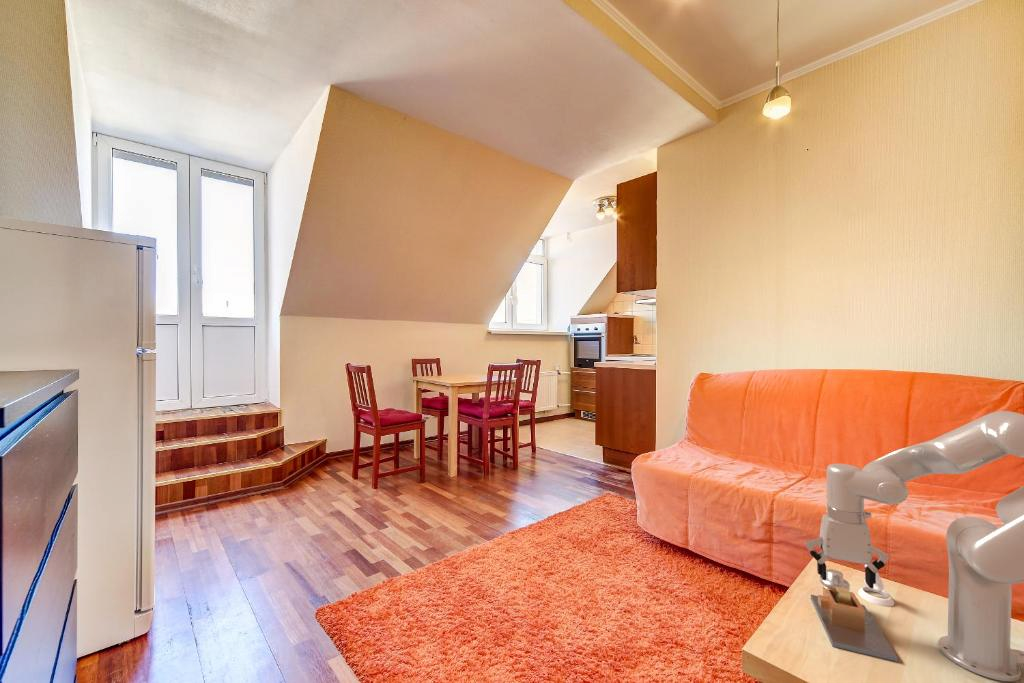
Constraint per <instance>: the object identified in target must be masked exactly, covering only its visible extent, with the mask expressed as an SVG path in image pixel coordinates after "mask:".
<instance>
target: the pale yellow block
mask: <svg viewBox="0 0 1024 683" xmlns="http://www.w3.org/2000/svg"><path fill="white" fill-rule="evenodd" d="M850 592H851V591H850V590H848V589H846V588H842V587H838V586H836V603H839V604H843V605H848V606H851V595H850Z"/></svg>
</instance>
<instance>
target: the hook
mask: <svg viewBox="0 0 1024 683" xmlns="http://www.w3.org/2000/svg"><path fill="white" fill-rule="evenodd" d="M866 566H867V565H866V564H864V568H865V567H866ZM878 572H879V571H878ZM878 572H877V573H876V584H873V586H874V588H870V587H869V586H868V585H867V583H866V582H865V578H864V579H863V582H864V585H862V587H861V588H859V590H858V592H857V593H858V595H859V597H861V598H862V599H863V600H865V601H867V602H869V603H871V604H874V605H876V606H881V607H893V606H894V605H895V601H894V599H893V596H892V595H891V594H890V593H888V592H887V591H886V590H884V589H885V586H884V583H883V580H882V578H881V576H880V574H879V573H878ZM866 591H868V592H873V593H876V594H878V595H879V594H880V595H882V596H884V597H886V598H881V597H877V596H874V595H871V594H869V593H868V592H866Z"/></svg>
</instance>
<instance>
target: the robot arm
mask: <svg viewBox="0 0 1024 683" xmlns="http://www.w3.org/2000/svg"><path fill="white" fill-rule="evenodd" d="M1010 455H1013V456H1015V457H1019V458H1022V459H1024V414H1022V413H1019V412H1014V411H1010V410H997V411H995V412H993V411H992V412H990V413H988V414H985V415H982V416H980V417H979V418H977V419H974V420H972V421H970V422H967V423H966V424H963V425H961V426H959V427H956V428H955V429H953V430H950V431H948V432H946V433H943V434H941V435H939V436H937V437H935V438H933V439H931V440H926V441H924V442H919V443H917V444H914V445H909V446H906V447H903V448H899V449H896V450H893V451H891V452H890V453H887V454H885V455H883V456H880V457H878V458H877V459H873V461H870V462H868V463H867V464H866V465H865V466H863V468H862V469H861V468H859V467H857V466H855V465H851V464H847V463H831V464H829V465H828V466H827V468H826V513H824V514H822V518H821V522H820V530H819V537H816V538H814V539H809V540H807V541H804V545H805V546H806V549H807V551H808V552H809V554H810V555H811V557H812V558H813V559H815V561H817V562H816V563H817V565H816V566H817V567H816V568H817V570H816V571H817V574H818V575H819V576H821V577H822V579H823V580H826V572H827V565H826V562H827V561H828V560H829V559H833V560H837V561H838V560H839V561H844V562H850V563H858V564H864V565H867V566H866V567H865V566H864V574H865V575H864V576H865V577H864V579H865V582H866V583H867V585H868V586H869V587H870V588H874V586H873V584H876V573H877V572H879V570H881V569H882V568H884V567H885V566H886V565H885V564H886V563H887V562H888V560H889V559H890V556H889V555H888V553H886V552H884V551H883V550H881V549H879V548H877V547H875V546H874V545H872V539H871V532H870V529H869V525H868V522H867V521H866V519H872V514H871V512H869V511H865V500H869V501H872V502H877V503H881V504H885V505H892V506H893V505H897V504H902V503H903V502H905V501H906V500H907V498H908V497H909V490H908V489H909V488H908V486H907V484H906V483H907V482H910V481H912V480H915V479H917V478H921V477H924V476H929V475H938V474H940V475H941V474H943V475H961V474H962V475H963V474H966V473H968V472H969V473H970V472H971V471H973V470H976V469H978V468H980V467H983V466H985V465H987V464H990V463H992V462H995V461H997V460H999V459H1002V458H1004V457H1006V456H1007V457H1008V456H1010ZM995 511H996V512H995V513H996V515H997V517H998V518H999V519H1000V521H1001V522H1002V523H1003V524H1002V525H1001V526H999V527H998V526H997V525H995V524H993V523H992V522H989V521H987V520H985V519H982V518H979V517H974V516H964V517H959V518H957V519H955V520H953V521H952V522H951V523H950V524H949V526H948V527H947V529H946V534H945V535H946V536H945V537H946V538H945V539H946V548H947V556H948V558H947V559H948V596H947V597H948V598H947V599H948V600H947V601H948V605H947V609H948V610H947V635H944V636H941V637H939V638H938V640H937V646H938V649H939V650H940V651H941V653H942V654H943V655H945V657H947V658H948V659H949V660H951V661H952V662H953V663H954V664H956V665H959V666H960V667H962V668H964V669H966V670H968V671H970V672H972V673H974V674H977V675H979V676H982V677H985V678H988V679H991V680H996V681H1000V682H1017V681H1019V680H1020V679H1021V678H1022V677H1021V676H1022V672H1021V669H1020V667H1023V666H1024V650H1020V649H1016V648H1014V649H1013V648H1011V636H1012V635H1011V634H1012V633H1011V631H1012V629H1011V628H1012V627H1011V626H1012V625H1011V624H1012V598H1013V597H1012V594H1013V593H1012V590H1013V589H1012V585H1017V584H1022V583H1024V485H1021V487H1019V488H1016V489H1015V490H1014V491H1012V492H1010V493H1008V494H1006V495H1005V496H1004V497H1002V498H1001V499H1000V500H999V501H998V502H997V504H996V506H995ZM817 546H819V548H820V551H819V552H816V550H815V549H814V547H817ZM873 554H875V555H876V556H878V558H877V559H875V560H874V561H873Z"/></svg>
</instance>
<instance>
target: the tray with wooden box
mask: <svg viewBox="0 0 1024 683" xmlns="http://www.w3.org/2000/svg"><path fill="white" fill-rule="evenodd" d="M819 582H820V583H821V584H822V585H823V586H822V594H821V595H819V594H818V595H815V594H810V600H811V602H812V603H811V604H813V607H814V610H815V611H816V613H817V616H818V618H819V619H820V623H821V626H822V627H823V628H824V631H825V633H826V635H827V638H828V640H829V642H830V644H831V647H833V648H836V649H841V650H845V651H846V650H847V651H849V652H854V653H858V654H860V655H861V654H862V655H867V656H870V657H874V658H879V659H883V660H887V661H891V662H895V663H898V656H897V654H896V652H895V651H894V650H893V648H892V645H890V643H889V642H888V640H887V639H886V637H885V635H884V633H883V632H882V630H881V629H880V627H879V626H878V625H877V622H876V621H875V620H874V618H873V617H872V615H871V614H870V612H869V610H868V609H867V607H866V606H865V605H864V604H862V603H861V602H860V601H859V600H858V597H857V596H856V594H855V593H854V592H853V591H850V590H851V588H850V587H851V586H850V585H851V584H850V582H848V581H847V580H846V579H844V574H843V572H841V571H839V570H836V569H833V568H829V569H827V568H826V580H823V579H822V577H821V575H819ZM836 586H838V587H842V588H846V589H848V590H849V592H850V595H851V606H848V605H843V604H839V603H836Z"/></svg>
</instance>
